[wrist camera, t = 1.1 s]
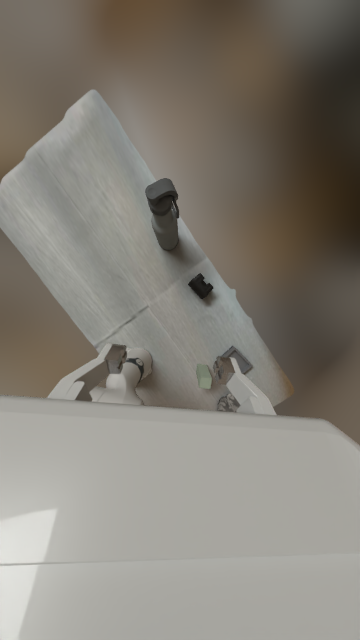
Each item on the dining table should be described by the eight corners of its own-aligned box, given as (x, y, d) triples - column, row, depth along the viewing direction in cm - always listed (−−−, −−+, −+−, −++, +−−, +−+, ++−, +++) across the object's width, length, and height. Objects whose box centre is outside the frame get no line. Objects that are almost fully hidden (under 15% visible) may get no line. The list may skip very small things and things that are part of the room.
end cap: (187, 285, 65) (188, 283, 59) (197, 275, 65) (199, 271, 58) (201, 299, 66) (203, 299, 60) (211, 289, 66) (214, 288, 59)
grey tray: (230, 379, 71) (232, 382, 68) (213, 362, 70) (215, 365, 67) (249, 363, 70) (252, 365, 67) (232, 345, 69) (235, 347, 66)
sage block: (205, 373, 71) (210, 389, 58) (196, 372, 71) (199, 387, 58) (206, 365, 70) (212, 378, 57) (197, 363, 70) (200, 377, 57)
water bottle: (173, 224, 62) (166, 160, 34) (182, 244, 63) (182, 196, 35) (154, 235, 63) (132, 180, 35) (163, 254, 64) (149, 215, 36)
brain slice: (238, 383, 71) (240, 386, 68) (254, 406, 73) (257, 411, 70) (208, 401, 73) (209, 405, 70) (224, 423, 75) (225, 428, 72)
